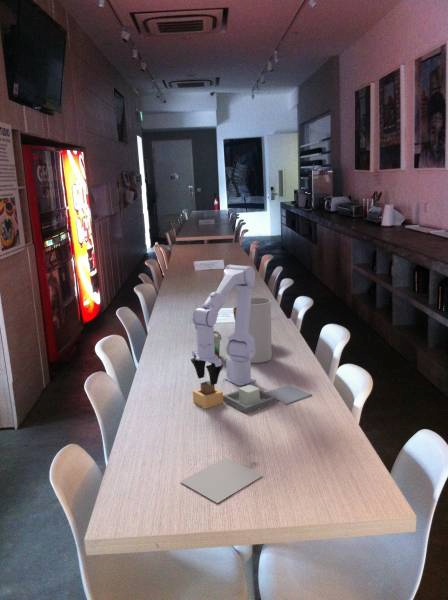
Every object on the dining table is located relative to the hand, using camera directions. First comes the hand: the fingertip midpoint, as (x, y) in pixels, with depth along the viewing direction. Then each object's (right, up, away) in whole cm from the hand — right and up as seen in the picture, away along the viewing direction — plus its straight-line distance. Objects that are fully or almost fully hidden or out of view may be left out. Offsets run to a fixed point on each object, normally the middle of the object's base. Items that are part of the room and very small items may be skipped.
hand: (207, 380), depth 192 cm
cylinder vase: (+19, +3, +43) cm, 48 cm away
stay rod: (0, -8, +2) cm, 8 cm away
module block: (+14, -7, +1) cm, 16 cm away
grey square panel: (+5, -18, -40) cm, 44 cm away
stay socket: (0, -8, +2) cm, 8 cm away
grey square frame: (+14, -7, +1) cm, 16 cm away
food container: (+2, +4, +49) cm, 49 cm away
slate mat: (+28, -6, +6) cm, 29 cm away
